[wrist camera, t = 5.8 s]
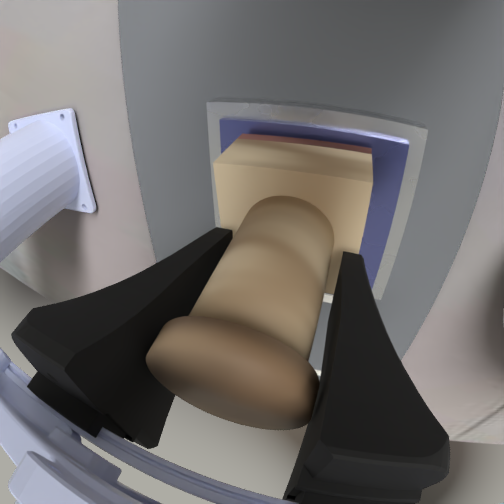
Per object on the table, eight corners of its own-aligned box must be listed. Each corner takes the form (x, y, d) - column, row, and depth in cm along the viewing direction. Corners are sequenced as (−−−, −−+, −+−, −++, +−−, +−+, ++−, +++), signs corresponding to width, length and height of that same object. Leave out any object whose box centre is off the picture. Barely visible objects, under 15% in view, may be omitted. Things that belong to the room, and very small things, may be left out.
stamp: (248, 232, 15) (161, 400, 9) (242, 133, 12) (94, 302, 6) (353, 250, 14) (317, 446, 8) (371, 148, 10) (361, 375, 4)
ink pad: (227, 253, 18) (217, 269, 17) (218, 97, 13) (203, 103, 12) (381, 284, 16) (380, 304, 15) (422, 122, 11) (429, 131, 9)
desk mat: (185, 346, 28) (181, 351, 28) (125, -30, 10) (116, -31, 9) (375, 393, 24) (374, 400, 23) (502, -19, 5) (508, -21, 5)
